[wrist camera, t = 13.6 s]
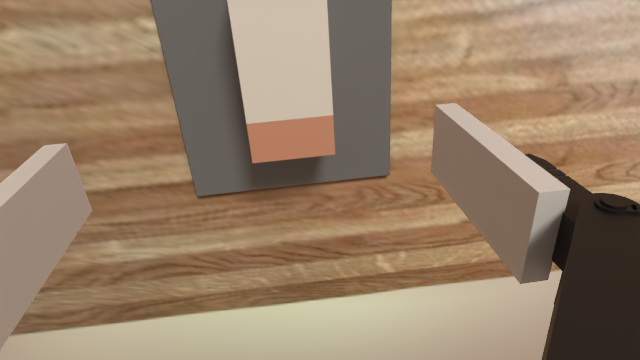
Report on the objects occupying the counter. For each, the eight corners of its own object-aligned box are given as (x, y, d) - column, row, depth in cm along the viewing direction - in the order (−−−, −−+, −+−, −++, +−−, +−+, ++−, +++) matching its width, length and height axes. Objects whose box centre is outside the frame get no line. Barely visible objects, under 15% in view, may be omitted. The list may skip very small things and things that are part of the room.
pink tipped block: (230, -25, 29) (223, -22, 25) (316, -32, 30) (325, -30, 25) (254, 137, 35) (252, 163, 30) (326, 129, 35) (335, 154, 31)
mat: (197, 193, 37) (197, 196, 37) (127, -108, 27) (125, -109, 26) (388, 172, 38) (389, 174, 38) (391, -124, 28) (393, -126, 28)
